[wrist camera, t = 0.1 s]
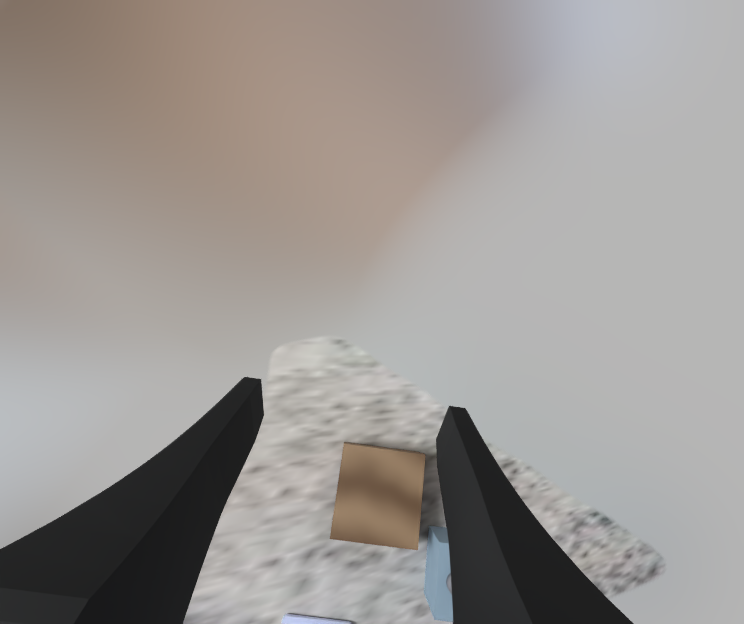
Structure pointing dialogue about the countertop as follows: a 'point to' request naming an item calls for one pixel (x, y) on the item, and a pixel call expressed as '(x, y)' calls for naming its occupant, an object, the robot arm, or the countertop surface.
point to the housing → (438, 575)
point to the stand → (379, 496)
